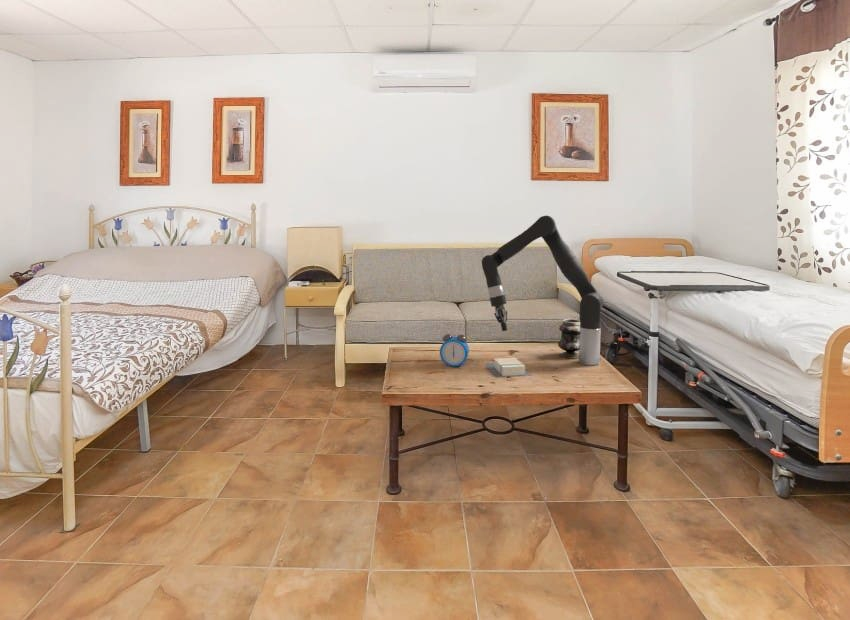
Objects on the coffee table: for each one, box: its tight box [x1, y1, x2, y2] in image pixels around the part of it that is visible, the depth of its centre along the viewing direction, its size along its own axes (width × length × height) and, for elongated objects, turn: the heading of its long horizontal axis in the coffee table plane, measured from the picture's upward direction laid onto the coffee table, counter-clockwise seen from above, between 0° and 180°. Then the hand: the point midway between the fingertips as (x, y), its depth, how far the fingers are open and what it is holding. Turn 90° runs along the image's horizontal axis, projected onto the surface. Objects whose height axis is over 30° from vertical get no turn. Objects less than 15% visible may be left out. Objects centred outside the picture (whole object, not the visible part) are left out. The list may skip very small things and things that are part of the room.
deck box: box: [493, 357, 526, 377], centre depth 236 cm, size 4×10×14 cm
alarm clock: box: [439, 333, 470, 368], centre depth 246 cm, size 13×6×15 cm, turn 77°
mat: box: [483, 362, 532, 378], centre depth 240 cm, size 22×16×1 cm
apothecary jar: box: [557, 318, 580, 359], centre depth 261 cm, size 12×12×18 cm
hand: (504, 330), depth 255 cm, fingers closed
